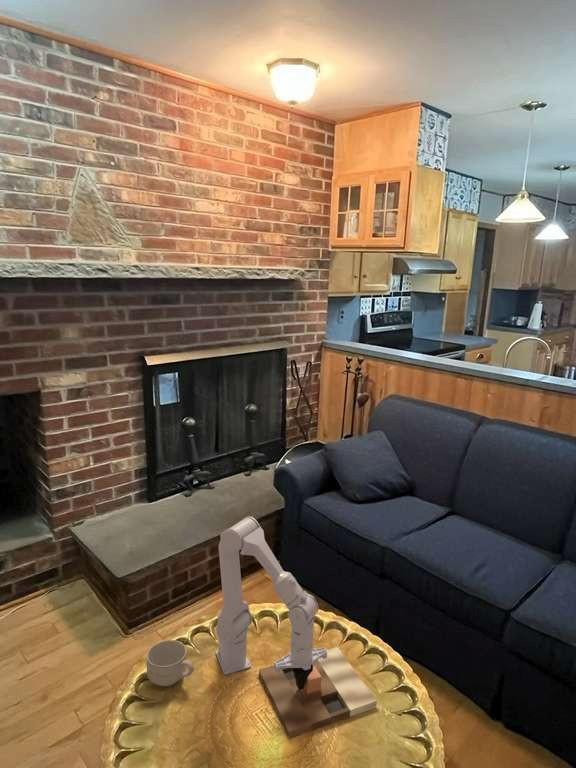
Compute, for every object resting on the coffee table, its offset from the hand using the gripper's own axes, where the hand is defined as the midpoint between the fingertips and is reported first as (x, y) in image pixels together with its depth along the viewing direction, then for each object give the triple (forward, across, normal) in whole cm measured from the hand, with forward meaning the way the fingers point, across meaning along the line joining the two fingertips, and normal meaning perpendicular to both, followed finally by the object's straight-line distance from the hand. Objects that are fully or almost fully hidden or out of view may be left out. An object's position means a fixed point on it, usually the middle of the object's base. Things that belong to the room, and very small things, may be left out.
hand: (299, 686), depth 130 cm
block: (+1, +3, 0) cm, 4 cm away
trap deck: (+3, +5, 0) cm, 6 cm away
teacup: (+3, -31, +18) cm, 36 cm away
